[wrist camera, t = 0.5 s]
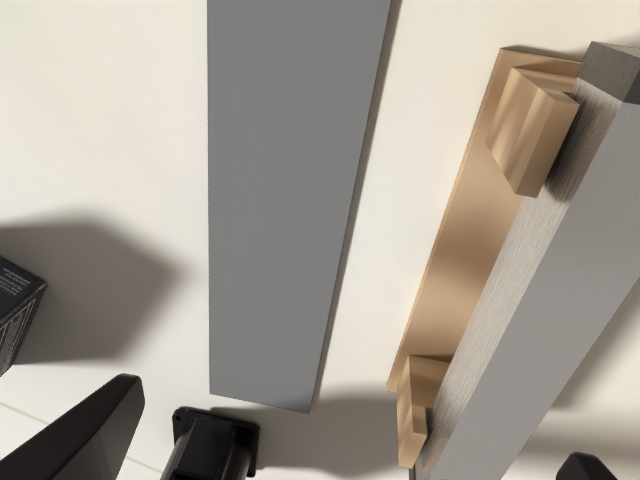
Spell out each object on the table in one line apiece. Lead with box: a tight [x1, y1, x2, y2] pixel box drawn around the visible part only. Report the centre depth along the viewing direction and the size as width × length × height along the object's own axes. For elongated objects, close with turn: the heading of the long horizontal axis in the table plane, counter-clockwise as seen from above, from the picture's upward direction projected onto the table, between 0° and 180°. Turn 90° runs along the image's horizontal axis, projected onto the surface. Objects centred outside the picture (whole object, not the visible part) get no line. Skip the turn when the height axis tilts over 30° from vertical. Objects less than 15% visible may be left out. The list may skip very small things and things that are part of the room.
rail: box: [409, 41, 640, 480], centre depth 17 cm, size 22×3×3 cm, turn 172°
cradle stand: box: [387, 48, 582, 469], centre depth 20 cm, size 20×6×6 cm, turn 172°
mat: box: [207, 0, 391, 414], centre depth 23 cm, size 26×7×1 cm, turn 172°
